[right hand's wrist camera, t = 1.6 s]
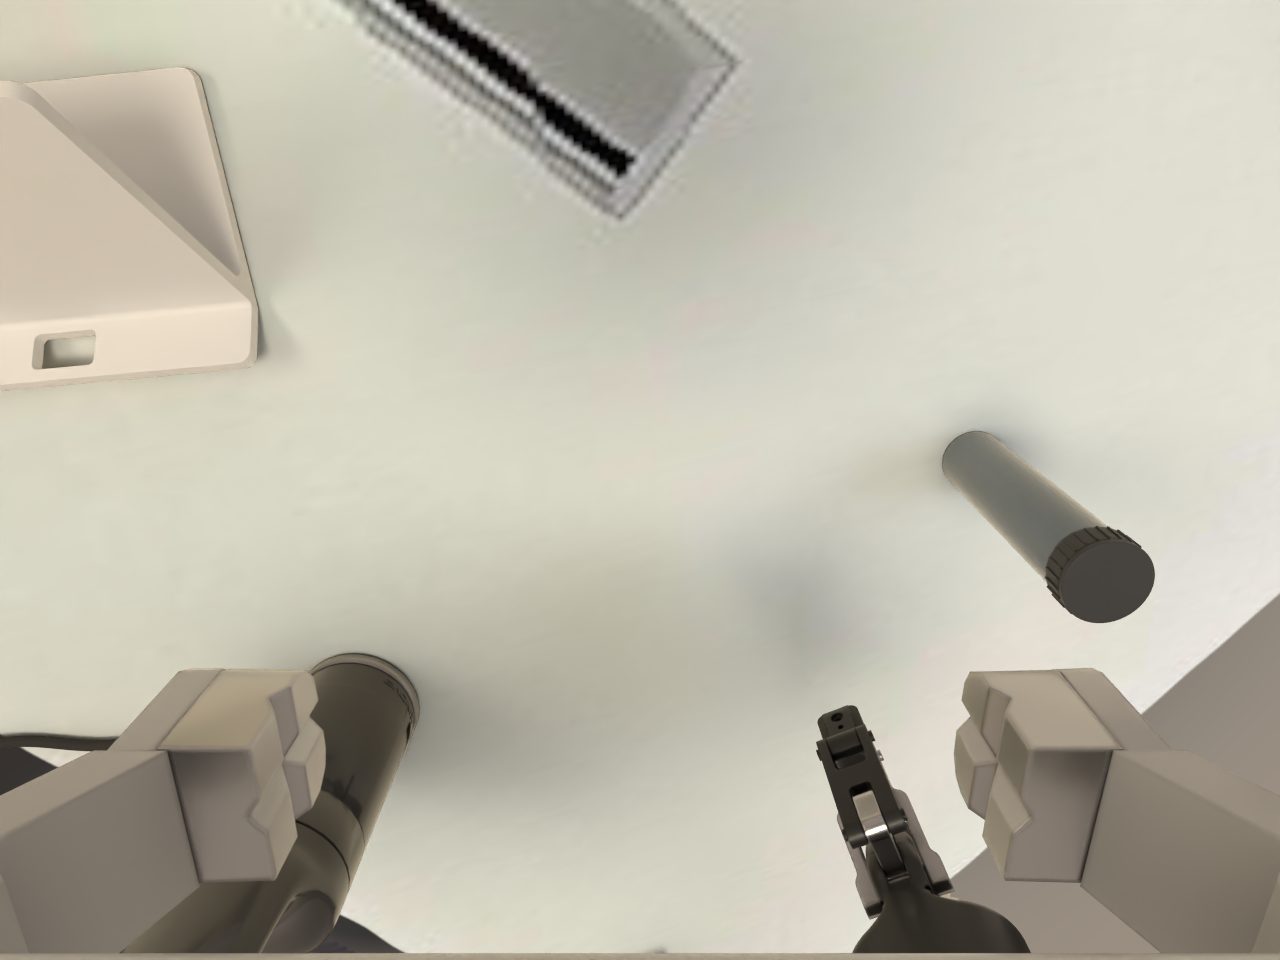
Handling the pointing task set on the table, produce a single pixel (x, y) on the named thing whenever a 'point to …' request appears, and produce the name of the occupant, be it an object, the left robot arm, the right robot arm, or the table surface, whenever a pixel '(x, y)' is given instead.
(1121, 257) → the table surface
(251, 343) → the tablet stand
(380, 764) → the left robot arm
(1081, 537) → the lid
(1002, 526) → the blue-grey bottle
